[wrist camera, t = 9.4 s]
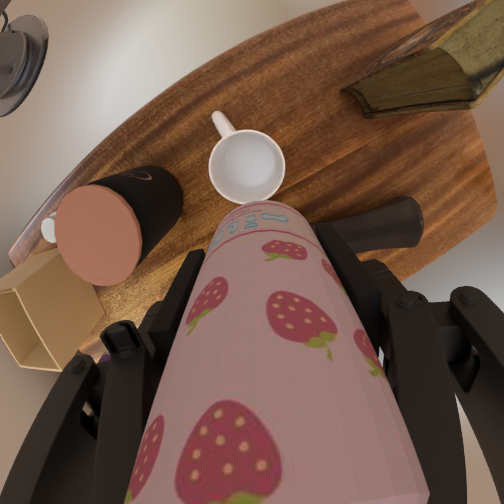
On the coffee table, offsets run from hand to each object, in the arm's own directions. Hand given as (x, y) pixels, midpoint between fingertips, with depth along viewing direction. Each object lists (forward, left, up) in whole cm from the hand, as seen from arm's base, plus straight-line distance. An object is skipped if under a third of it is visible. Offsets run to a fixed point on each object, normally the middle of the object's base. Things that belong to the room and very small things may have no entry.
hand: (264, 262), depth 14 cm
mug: (-5, -1, -28) cm, 29 cm away
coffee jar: (-1, -17, -28) cm, 33 cm away
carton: (+10, -41, -28) cm, 50 cm away
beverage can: (0, 0, -2) cm, 2 cm away
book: (-14, +22, -28) cm, 38 cm away
